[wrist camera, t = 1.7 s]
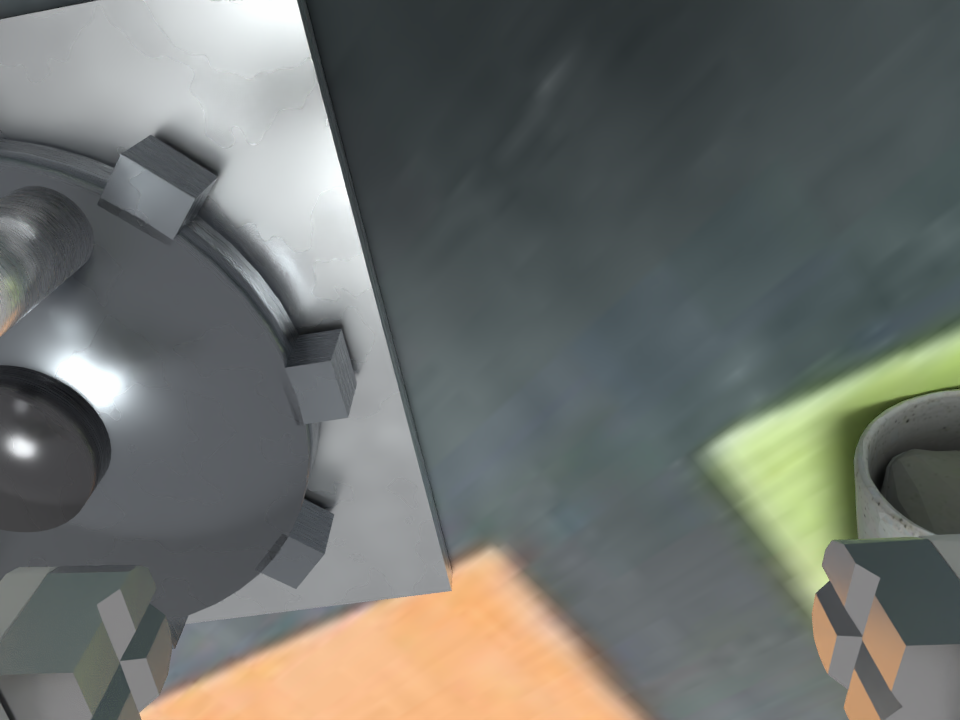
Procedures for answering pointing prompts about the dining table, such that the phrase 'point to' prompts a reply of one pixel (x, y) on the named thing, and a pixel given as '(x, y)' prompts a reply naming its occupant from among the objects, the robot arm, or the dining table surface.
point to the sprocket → (151, 384)
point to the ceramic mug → (910, 469)
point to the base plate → (254, 237)
